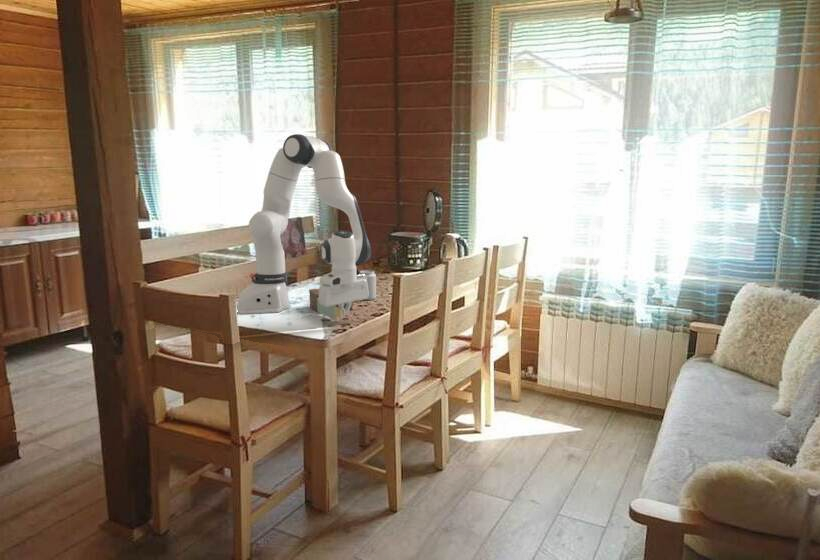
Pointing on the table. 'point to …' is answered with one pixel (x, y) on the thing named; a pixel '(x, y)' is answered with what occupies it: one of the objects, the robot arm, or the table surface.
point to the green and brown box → (313, 299)
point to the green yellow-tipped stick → (330, 311)
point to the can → (370, 283)
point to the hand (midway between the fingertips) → (345, 314)
